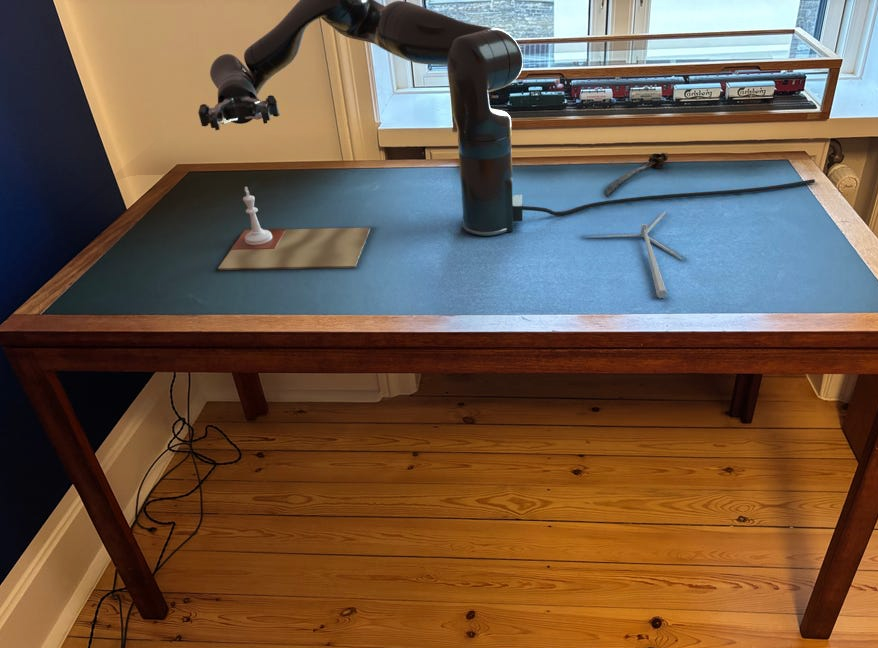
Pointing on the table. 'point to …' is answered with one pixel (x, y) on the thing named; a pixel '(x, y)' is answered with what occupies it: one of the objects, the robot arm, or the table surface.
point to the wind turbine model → (651, 256)
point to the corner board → (299, 249)
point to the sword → (654, 160)
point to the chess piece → (255, 223)
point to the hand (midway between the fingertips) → (240, 121)
